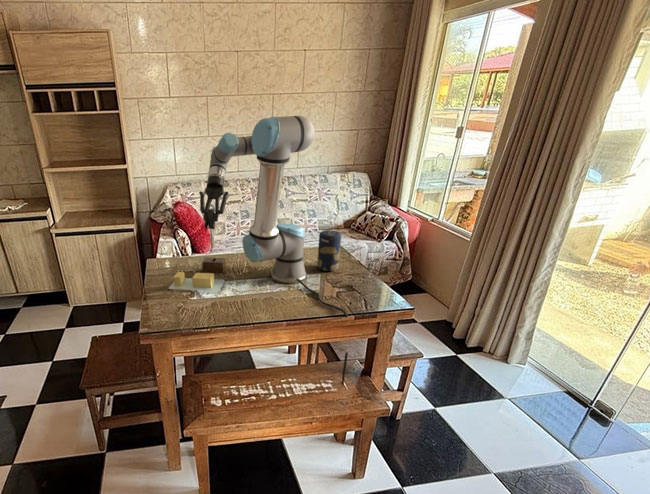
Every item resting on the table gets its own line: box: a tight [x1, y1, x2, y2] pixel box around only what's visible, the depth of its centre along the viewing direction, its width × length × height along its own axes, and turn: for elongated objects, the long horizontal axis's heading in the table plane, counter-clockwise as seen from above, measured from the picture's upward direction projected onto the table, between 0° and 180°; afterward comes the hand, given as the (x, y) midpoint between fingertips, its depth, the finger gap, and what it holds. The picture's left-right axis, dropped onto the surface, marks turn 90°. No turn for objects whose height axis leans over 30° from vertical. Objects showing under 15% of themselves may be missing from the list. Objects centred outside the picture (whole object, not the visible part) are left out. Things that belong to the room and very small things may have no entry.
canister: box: [316, 229, 342, 272], centre depth 182 cm, size 10×10×18 cm
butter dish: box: [168, 277, 225, 292], centre depth 175 cm, size 22×12×1 cm, turn 78°
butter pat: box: [172, 271, 186, 286], centre depth 175 cm, size 3×6×4 cm, turn 168°
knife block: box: [201, 257, 227, 274], centre depth 187 cm, size 10×6×6 cm, turn 78°
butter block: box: [191, 272, 215, 288], centre depth 173 cm, size 8×6×4 cm
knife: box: [207, 208, 215, 250], centre depth 178 cm, size 2×3×17 cm
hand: (209, 227), depth 174 cm, fingers closed on knife, 2 cm apart
